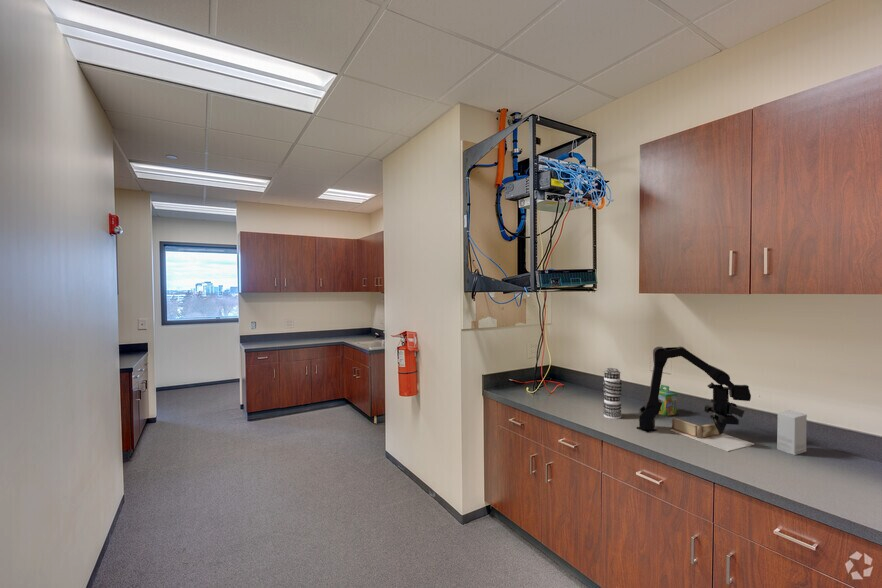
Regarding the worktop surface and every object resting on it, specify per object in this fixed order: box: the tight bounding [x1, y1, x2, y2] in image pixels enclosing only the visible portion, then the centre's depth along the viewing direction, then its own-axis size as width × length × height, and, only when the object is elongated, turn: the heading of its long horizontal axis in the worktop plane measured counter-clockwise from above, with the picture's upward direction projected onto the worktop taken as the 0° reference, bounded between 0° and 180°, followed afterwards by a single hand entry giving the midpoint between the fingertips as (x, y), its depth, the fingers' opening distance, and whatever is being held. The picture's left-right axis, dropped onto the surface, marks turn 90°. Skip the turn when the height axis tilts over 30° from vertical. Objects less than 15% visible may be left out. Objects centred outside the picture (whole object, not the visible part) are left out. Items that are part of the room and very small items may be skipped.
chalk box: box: [658, 384, 678, 417], centre depth 210 cm, size 9×9×15 cm
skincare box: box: [776, 409, 808, 456], centre depth 160 cm, size 8×7×16 cm
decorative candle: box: [602, 367, 623, 420], centre depth 205 cm, size 9×9×25 cm
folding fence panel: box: [701, 422, 720, 437], centre depth 177 cm, size 11×2×5 cm, turn 109°
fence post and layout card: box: [669, 417, 755, 452], centre depth 176 cm, size 18×27×6 cm, turn 22°
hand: (720, 433), depth 174 cm, fingers closed
